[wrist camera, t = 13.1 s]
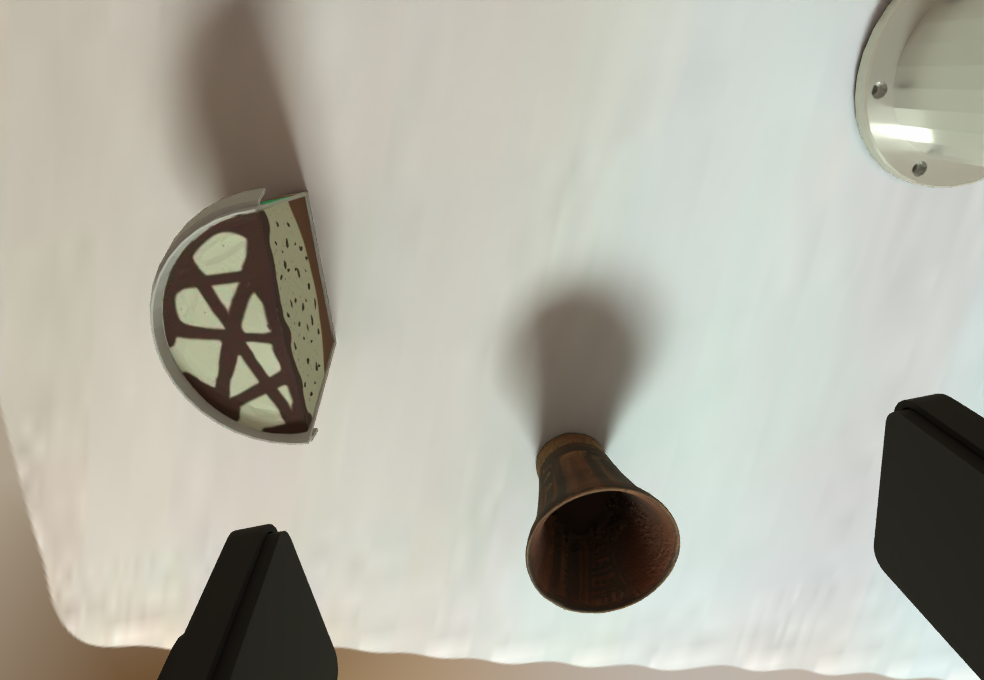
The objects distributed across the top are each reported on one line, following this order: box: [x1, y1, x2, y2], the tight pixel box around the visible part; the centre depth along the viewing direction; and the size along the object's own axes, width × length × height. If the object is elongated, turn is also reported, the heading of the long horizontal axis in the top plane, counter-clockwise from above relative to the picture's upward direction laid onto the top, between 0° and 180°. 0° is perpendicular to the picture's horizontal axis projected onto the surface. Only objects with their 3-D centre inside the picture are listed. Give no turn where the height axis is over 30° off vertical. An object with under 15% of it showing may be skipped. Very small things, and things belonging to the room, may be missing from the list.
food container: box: [150, 188, 336, 445], centre depth 32 cm, size 12×6×10 cm, turn 4°
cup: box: [526, 433, 680, 613], centre depth 39 cm, size 9×9×10 cm
